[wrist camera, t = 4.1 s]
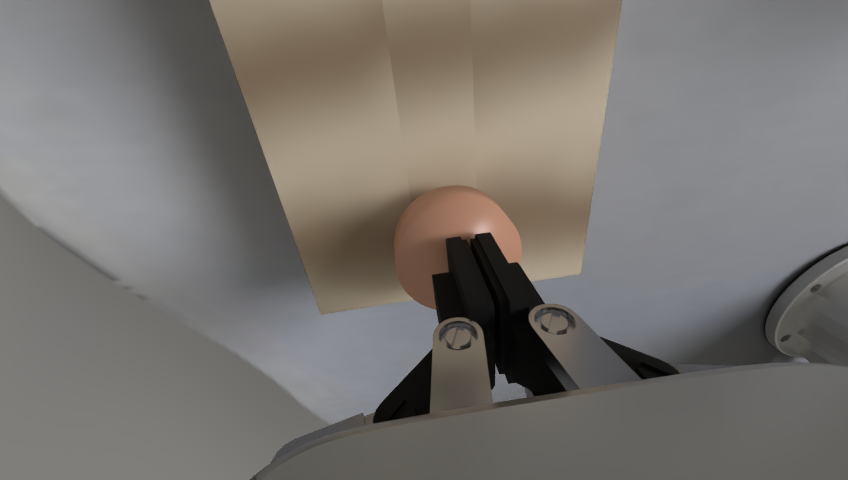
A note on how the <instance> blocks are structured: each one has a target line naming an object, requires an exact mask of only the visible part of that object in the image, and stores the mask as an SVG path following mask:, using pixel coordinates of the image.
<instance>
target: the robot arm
mask: <svg viewBox="0 0 848 480" xmlns="http://www.w3.org/2000/svg"><path fill="white" fill-rule="evenodd" d="M446 248H447V259H448V270H449V272H446V273H439V274H432V282H433V290H434V297H435V304H436V310H437V316H438V321H439V325H438V326H437V327H436V329H435V331H434V334H433V349H432V350H431V351H430V352H429V353H428V354H427V355H426V356H425V357H424V358H423V359H422V360H421V361H420V363H419V364H418V365H417V366H416V367H415V368H414V369H413V370H412V371H411V372H410V373H409V374H408V375H407V376H406V377H405V378H404V379H403V380H402V381H401V383H400V384H399V385H398V386H397V387H396V388H395V389H394V390H393V391H392V392H391V393H390V394H389V395H388V396H387V397H386V398H385V399H384V400H383V402H382V403H381V404H380V405H379V407H378V408H377V409H376V412H375V413H372V414H369V415H367V416H364V415H363V413H361V414H358V415H356V416H353V417H350V418H348V419H345V420H343V421H340V422H338V423H335V424H332V425H330V426H327V427H325V428H322V429H319V430H317V431H314V432H312V433H309V434H307V435H304V436H301V437H299V438H296V439H294V440H292V441H290V442H289V443H287V444H285V445H284V446H283V447H282V448H281V449H280V450H279V451H278V452H277V453H276V455H275V456H274V458H273V460H272V461H271V463H270V464H269V465H267V466H266V467H265V468H263V469H262V470H261V471H259V472H258V473H257V474H256V475H254V476H253V477H252V478H251V479H250V480H848V246H846V247H844V248H842V249H840V250H838V251H836V252H834V253H832V254H830V255H829V256H827V257H825V258H824V259H822V260H821V261H819V262H818V263H816V264H815V265H813V266H812V267H811V268H809V269H808V270H807V271H805V272H804V273H803V274H801V275H800V276H799V277H798V278H797V279H796V280H795V281H794V282H793V283H792V284H791V285H789V286H788V287H787V289H786V290H785V291H784V292H783V293H782V294H781V296H780V297H779V298H778V299H777V301H776V302H775V304H774V306H773V307H772V309H771V311H770V313H769V315H768V318H767V321H766V326H765V332H766V337H767V339H768V341H769V343H770V344H772V345H773V346H774V347H776V348H777V349H778V350H779V351H781V352H782V353H784V354H786V355H788V356H792V357H797V358H805V359H806V360H808V361H809V363H804V362H784V363H765V364H754V365H743V366H727V365H703V364H679V363H676V366H675V368H674V367H672V366H671V365H669V364H668V363H666V362H663V361H661V360H659V359H657V358H654V357H652V356H649V355H646V354H644V353H641V352H639V351H636V350H633V349H631V348H628V347H625V346H623V345H620V344H618V343H615V342H612V341H610V340H607V339H604V338H602V337H599V336H598V335H597V334H596V333H595V332H594V331H593V330H592V329H591V328H590V327H589V326H588V325H587V324H586V323H585V322H584V321H583V320H582V319H581V318H580V317H579V316H578V315H577V314H576V313H575V312H574V311H572V310H571V309H569V308H567V307H565V306H562V305H558V304H545V303H544V302H543V300H542V299H541V297H540V296H539V294H538V292H537V291H536V289H535V288H534V286H533V285H532V283H531V282H530V280H529V278H528V277H527V275H526V274H525V272H524V271H523V269H522V268H521V266H520V265H519V263H517V262H514V263H508V261H507V260H506V258H505V256H504V255H503V253H502V251H501V249H500V248H499V246H498V244H497V243H496V241H495V239H494V238H493V236H492V234H491V233H490V232H487V233H480V234H475V238H472V239H470V246H469V244H468V241H467V239H465V240H462V239H461V237H453V238H446ZM495 364H496V367H497V369H498V372H499V374H505V376H506V379H507V381H508V384H510V383H518V384H520V385H521V386H523V387H525V393H526V396H527V398H522V399H516V400H510V401H503V402H497V403H493V401H492V393H491V390H492V389H493V387H494V386H495Z"/></svg>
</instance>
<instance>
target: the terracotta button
mask: <svg viewBox="0 0 848 480" xmlns="http://www.w3.org/2000/svg"><path fill="white" fill-rule="evenodd" d="M487 232H490V233H491V234H492V236H493V238H494V239H495V241H496V243H497V244H498V246H499V248H500V249H501V251H502V253H503V255H504V256H505V258H506V260H507V261H508V263H514V262H517V263H519V265H520V261H521V255H522V245H521V240H520V236H519V233H518V231H517V229H516V228H515V226H514V224H513V223H512V222H511V220H510V219H509V218H508V217H507V215H506V214H505V213H504V212H503V210H502V209H501V208H500V206H499V205H498V204H497V203H496V201H495V200H493V199H492V198H491V197H490V196H489V195H487V194H486V193H484V192H482V191H480V190H478V189H475V188H472V187H468V186H461V185H451V186H444V187H439V188H436V189H433V190H430V191H428V192H426V193H424V194H423V195H421V196H419V197H418V198H417V199H415V200H414V201H413V202H412V203H411V204H410V205H409V206H408V207H407V208H406V209H405V211H404V212H403V214H402V215H401V217H400V219H399V221H398V223H397V226H396V230H395V235H394V249H395V267H396V273H397V277H398V280H399V282H400V284H401V286H402V287H403V289H404V290H405V291H406V293H407V294H408V295H409V296H410V297H412V298H413V299H414V300H415V301H417V302H419V303H420V304H422V305H424V306H426V307H429V308H432V309H436V304H435V297H434V290H433V282H432V274H439V273H446V272H449V270H448V259H447V248H446V238H453V237H461V239H462V240H465V239H467V241H468V244H469V246H470V239H472V238H475V234H480V233H487Z"/></svg>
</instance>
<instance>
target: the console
mask: <svg viewBox="0 0 848 480" xmlns="http://www.w3.org/2000/svg"><path fill="white" fill-rule="evenodd" d="M209 1H210V4H211V7H212V10H213V12H214V15H215V18H216V21H217V24H218V27H219V29H220V32H221V35H222V38H223V41H224V43H225V46H226V49H227V52H228V55H229V57H230V60H231V63H232V66H233V69H234V71H235V74H236V77H237V80H238V83H239V85H240V88H241V91H242V94H243V97H244V99H245V102H246V105H247V108H248V111H249V113H250V116H251V119H252V122H253V125H254V127H255V130H256V133H257V136H258V139H259V142H260V144H261V147H262V150H263V153H264V156H265V158H266V161H267V164H268V167H269V170H270V172H271V175H272V178H273V181H274V184H275V186H276V189H277V192H278V195H279V198H280V200H281V203H282V206H283V209H284V212H285V214H286V217H287V220H288V223H289V226H290V228H291V231H292V234H293V237H294V240H295V242H296V245H297V248H298V251H299V254H300V256H301V259H302V262H303V265H304V268H305V271H306V273H307V276H308V279H309V282H310V285H311V287H312V290H313V293H314V296H315V299H316V301H317V304H318V307H319V310H320V313H321V314H327V313H334V312H340V311H346V310H353V309H359V308H366V307H372V306H378V305H385V304H391V303H397V302H404V301H410V300H414V299H413V298H412V297H410V296H409V295H408V294H407V293H406V291H405V290H404V289H403V287H402V286H401V284H400V282H399V280H398V277H397V273H396V267H395V249H394V235H395V230H396V226H397V223H398V221H399V219H400V217H401V215H402V214H403V212H404V211H405V209H406V208H407V207H408V206H409V205H410V204H411V203H412V202H413V201H414V200H415V199H417V198H418V197H419V196H421V195H423V194H424V193H426V192H428V191H430V190H433V189H436V188H439V187H444V186H451V185H461V186H468V187H472V188H475V189H478V190H480V191H482V192H484V193H486V194H487V195H489V196H490V197H491V198H492V199H493V200H495V201H496V203H497V204H498V205H499V206H500V208H501V209H502V210H503V212H504V213H505V214H506V215H507V217H508V218H509V219H510V220H511V222H512V223H513V224H514V226H515V228H516V229H517V231H518V233H519V236H520V240H521V245H522V255H521V261H520V266H521V268H522V269H523V271H524V272H525V274H526V275H527V277H528V278H529V280H530V282H532V281H538V280H544V279H551V278H557V277H563V276H570V275H576V274H581V267H582V260H583V254H584V247H585V241H586V234H587V228H588V221H589V215H590V208H591V201H592V195H593V188H594V182H595V175H596V169H597V162H598V156H599V149H600V142H601V136H602V129H603V123H604V116H605V110H606V103H607V97H608V90H609V83H610V77H611V70H612V64H613V57H614V51H615V44H616V38H617V31H618V24H619V18H620V11H621V5H622V0H209Z"/></svg>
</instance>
